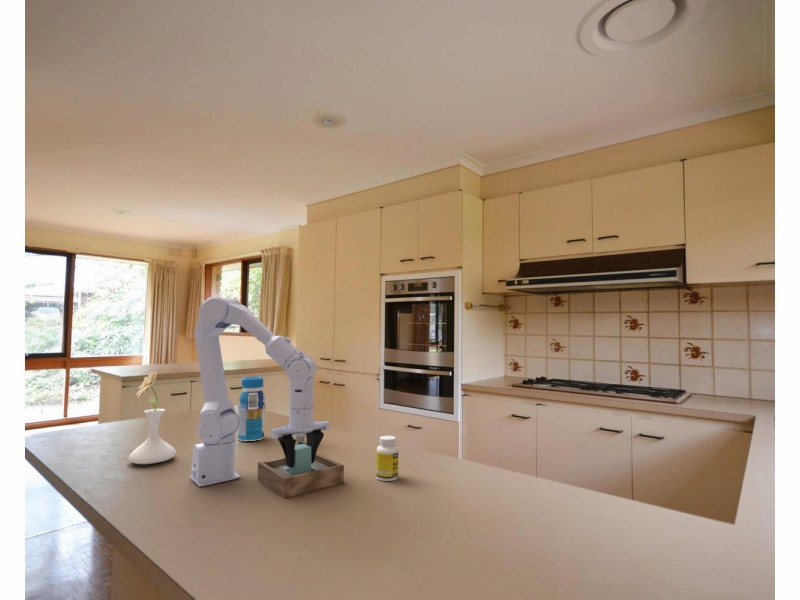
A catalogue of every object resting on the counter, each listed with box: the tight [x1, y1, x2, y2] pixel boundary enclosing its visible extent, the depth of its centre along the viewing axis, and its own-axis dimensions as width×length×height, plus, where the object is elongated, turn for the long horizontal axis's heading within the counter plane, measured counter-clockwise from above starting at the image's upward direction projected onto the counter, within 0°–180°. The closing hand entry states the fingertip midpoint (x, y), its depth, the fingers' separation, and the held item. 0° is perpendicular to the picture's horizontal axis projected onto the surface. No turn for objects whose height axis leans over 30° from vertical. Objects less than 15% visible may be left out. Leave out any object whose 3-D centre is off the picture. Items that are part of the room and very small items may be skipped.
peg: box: [288, 443, 311, 475], centre depth 105 cm, size 4×4×8 cm
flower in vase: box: [128, 370, 177, 465], centre depth 120 cm, size 13×11×25 cm
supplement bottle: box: [375, 435, 399, 482], centre depth 107 cm, size 5×5×10 cm
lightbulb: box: [295, 433, 306, 444], centre depth 138 cm, size 6×6×11 cm
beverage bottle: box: [237, 376, 266, 441], centre depth 144 cm, size 8×8×20 cm
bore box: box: [257, 452, 345, 499], centre depth 105 cm, size 15×15×4 cm
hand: (300, 464), depth 105 cm, fingers open, 5 cm apart
